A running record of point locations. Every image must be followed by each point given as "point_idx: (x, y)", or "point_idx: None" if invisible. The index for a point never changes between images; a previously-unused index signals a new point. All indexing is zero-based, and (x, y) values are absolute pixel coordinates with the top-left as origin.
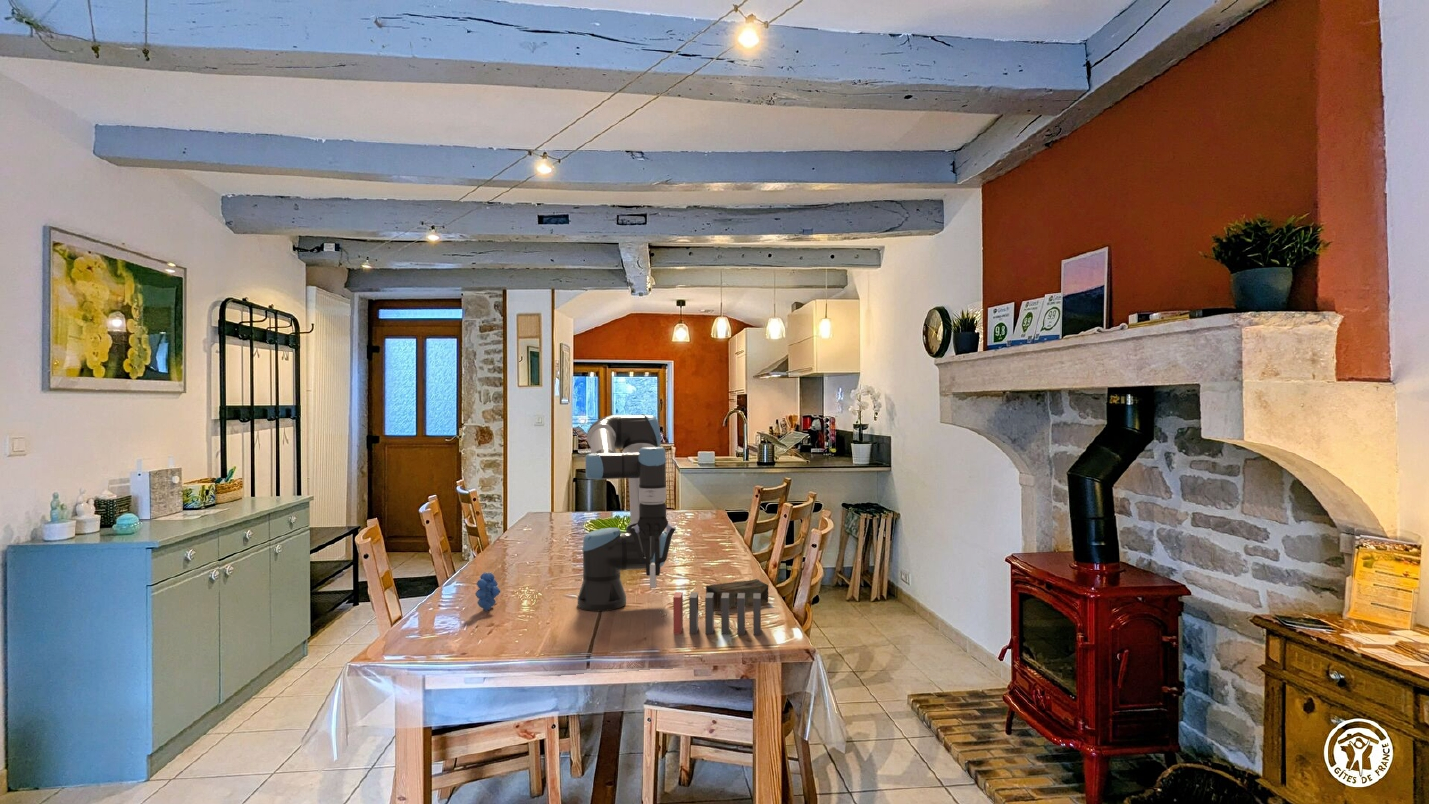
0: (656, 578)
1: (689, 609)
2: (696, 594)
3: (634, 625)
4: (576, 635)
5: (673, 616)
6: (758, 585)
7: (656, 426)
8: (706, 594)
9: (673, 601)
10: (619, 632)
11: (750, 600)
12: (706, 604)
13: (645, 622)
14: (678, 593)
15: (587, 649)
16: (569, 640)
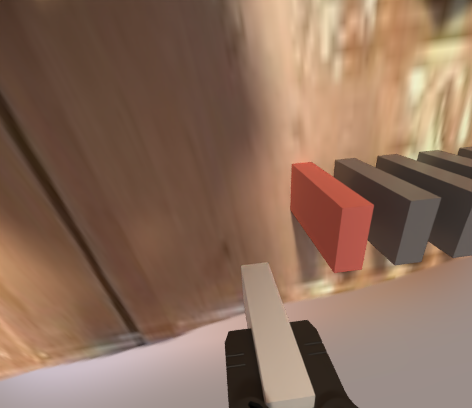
0: (278, 295)
1: (367, 239)
2: (428, 226)
3: (164, 164)
4: (40, 261)
5: (306, 232)
6: None
7: None
8: (468, 219)
9: (327, 261)
10: (144, 224)
11: None
12: (435, 243)
13: (189, 131)
14: (355, 224)
15: (121, 322)
16: (46, 290)
